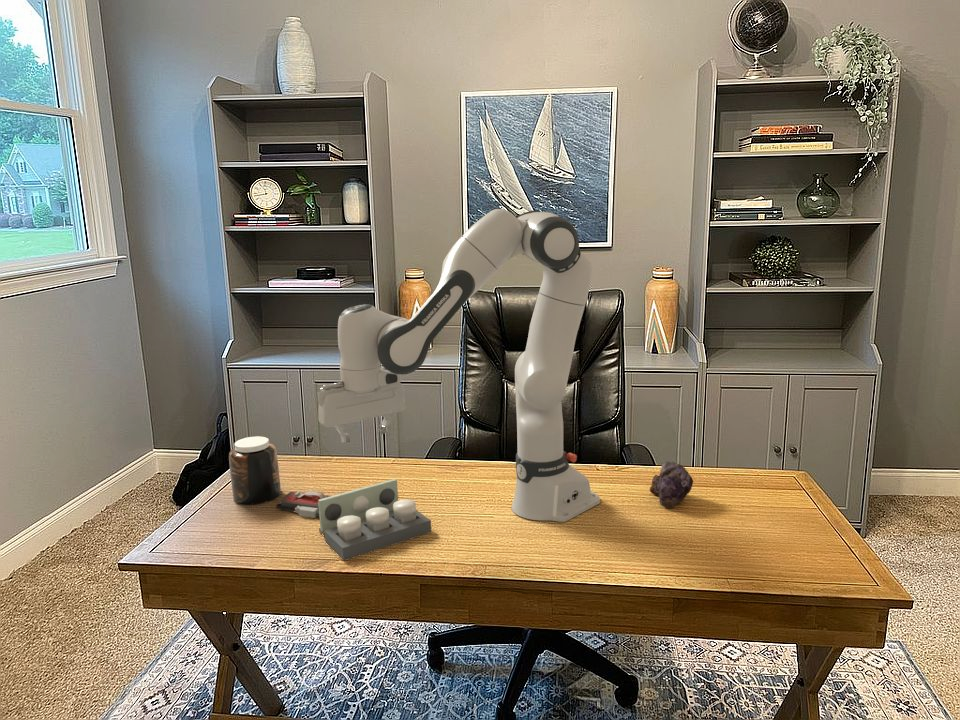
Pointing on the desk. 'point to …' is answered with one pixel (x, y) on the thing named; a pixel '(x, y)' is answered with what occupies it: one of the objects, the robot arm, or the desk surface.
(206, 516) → the desk surface
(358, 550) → the button board
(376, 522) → the button middle
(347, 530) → the button
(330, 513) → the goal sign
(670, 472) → the rock
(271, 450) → the jar
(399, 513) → the button
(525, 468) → the robot arm
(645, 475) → the desk surface
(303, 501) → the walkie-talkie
